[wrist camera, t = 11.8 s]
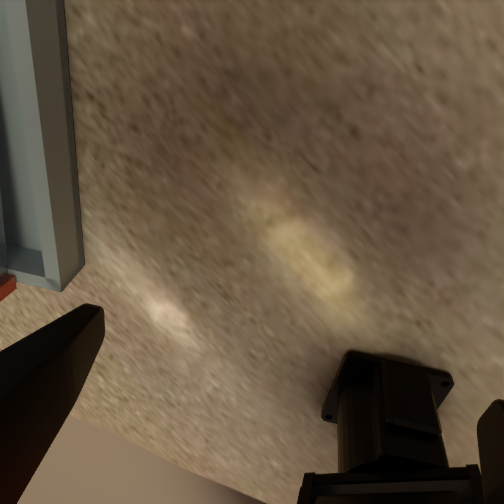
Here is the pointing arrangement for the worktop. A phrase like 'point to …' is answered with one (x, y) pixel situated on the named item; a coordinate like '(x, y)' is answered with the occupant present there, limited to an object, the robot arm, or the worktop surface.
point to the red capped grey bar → (4, 263)
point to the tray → (38, 146)
